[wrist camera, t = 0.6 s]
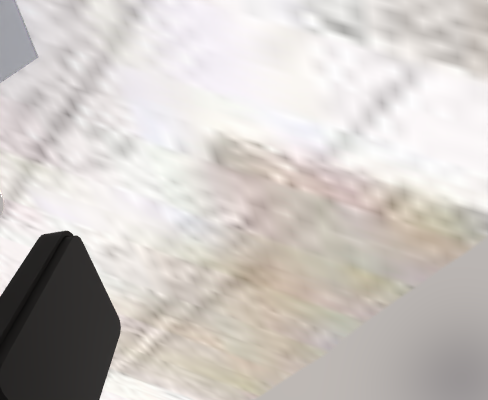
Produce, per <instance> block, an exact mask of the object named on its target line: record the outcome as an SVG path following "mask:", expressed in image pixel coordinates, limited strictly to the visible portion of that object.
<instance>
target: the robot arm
mask: <svg viewBox="0 0 488 400" xmlns="http://www.w3.org/2000/svg"><path fill="white" fill-rule="evenodd" d="M120 330H121V326H120V320H119V317H118V315H117V313H116V311H115V309H114V307H113V305H112V303H111V300H110V298H109V296H108V294H107V292H106V290H105V288H104V286H103V284H102V282H101V280H100V277H99V275H98V273H97V271H96V269H95V267H94V265H93V263H92V261H91V259H90V257H89V254H88V252H87V250H86V248H85V246H84V244H83V242H82V240H81V238H80V237H79V236H73V234H72V233H71V232H69V231H61V232H55V233H49V234H44V235H41V236H40V237H39V239H38V240H37V242H36V243H35V245H34V246H33V248H32V249H31V251H30V252H29V254H28V255H27V257H26V258H25V260H24V261H23V263H22V264H21V266H20V268H19V269H18V271H17V272H16V274H15V275H14V277H13V278H12V280H11V281H10V283H9V284H8V286H7V287H6V289H5V290H4V292H3V293H2V295H1V296H0V400H99V399H100V396H101V392H102V389H103V386H104V383H105V380H106V377H107V373H108V370H109V367H110V364H111V361H112V358H113V355H114V351H115V348H116V345H117V342H118V339H119V336H120Z"/></svg>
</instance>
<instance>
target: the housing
mask: <svg viewBox="0 0 488 400" xmlns="http://www.w3.org/2000/svg"><path fill="white" fill-rule="evenodd" d="M36 58H38V56H37V53H36V51H35V48H34V46H33V43H32V41H31V38H30V36H29V34H28V31H27V29H26V26H25V24H24V21H23V19H22V16H21V14H20V11H19V9H18V6H17V4H16V1H15V0H0V83H1V82H2V81H4V80H5V79H7V78H8V77H10V76H11V75H13V74H14V73H16V72H17V71H19V70H20V69H22V68H23V67H25V66H26V65H27V64H29V63H30V62H32V61H33V60H35V59H36Z"/></svg>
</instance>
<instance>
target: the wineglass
mask: <svg viewBox="0 0 488 400" xmlns="http://www.w3.org/2000/svg"><path fill="white" fill-rule="evenodd" d="M4 207H5V202H4V197H3V194H2V192H1V190H0V216H1V215H2V213H3V211H4Z"/></svg>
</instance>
